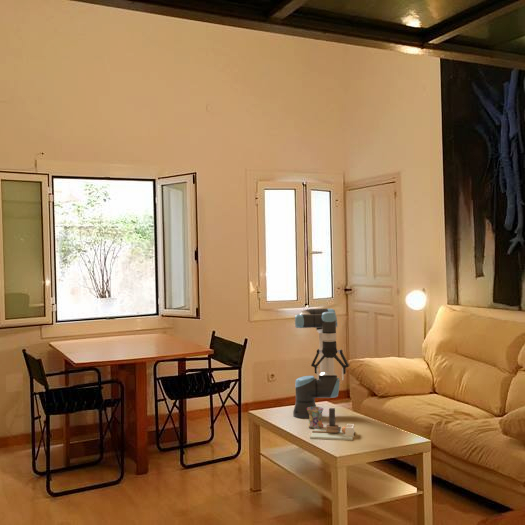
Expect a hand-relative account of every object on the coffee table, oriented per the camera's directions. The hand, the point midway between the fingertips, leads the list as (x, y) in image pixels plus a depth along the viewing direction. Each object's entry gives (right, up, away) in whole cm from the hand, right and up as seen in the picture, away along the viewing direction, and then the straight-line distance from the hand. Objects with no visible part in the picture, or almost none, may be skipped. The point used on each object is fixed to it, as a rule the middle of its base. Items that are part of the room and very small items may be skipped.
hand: (330, 379), depth 334 cm
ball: (+7, -26, -5) cm, 27 cm away
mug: (-7, -29, +13) cm, 33 cm away
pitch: (+1, -29, -5) cm, 29 cm away
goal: (+10, -28, -6) cm, 31 cm away
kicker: (+1, -27, -4) cm, 27 cm away
